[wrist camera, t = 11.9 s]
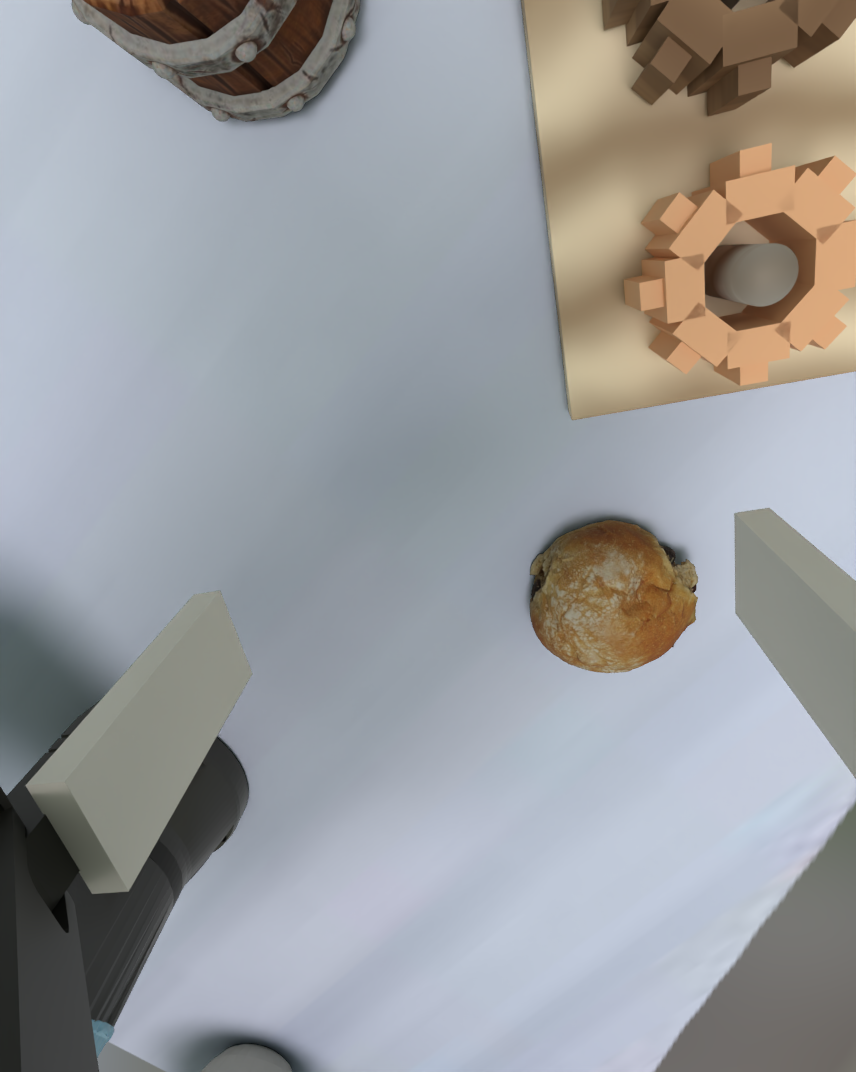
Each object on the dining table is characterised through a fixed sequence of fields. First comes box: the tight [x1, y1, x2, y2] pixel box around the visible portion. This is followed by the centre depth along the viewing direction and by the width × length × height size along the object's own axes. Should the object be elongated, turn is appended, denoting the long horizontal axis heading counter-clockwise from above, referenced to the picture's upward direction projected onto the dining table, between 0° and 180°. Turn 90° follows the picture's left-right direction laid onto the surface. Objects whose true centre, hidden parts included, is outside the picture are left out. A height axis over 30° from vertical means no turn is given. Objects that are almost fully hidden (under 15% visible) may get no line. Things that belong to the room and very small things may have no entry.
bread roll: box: [530, 520, 698, 673], centre depth 39 cm, size 10×10×8 cm
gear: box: [624, 143, 856, 386], centre depth 28 cm, size 10×10×5 cm
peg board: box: [521, 0, 856, 420], centre depth 26 cm, size 24×16×8 cm, turn 12°
